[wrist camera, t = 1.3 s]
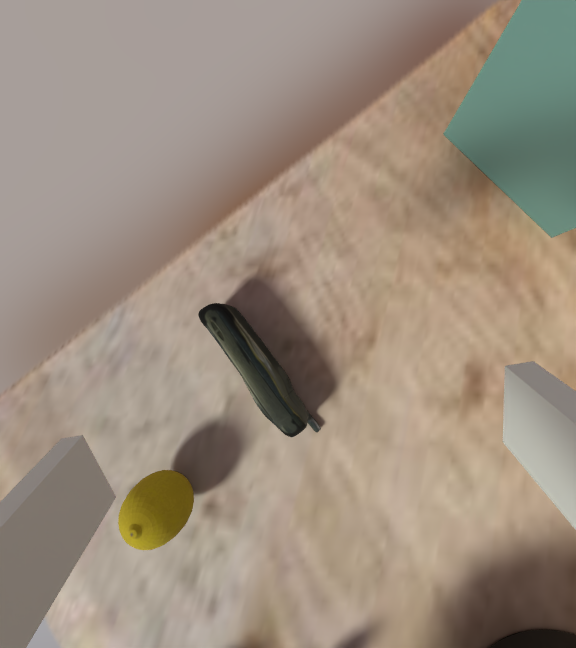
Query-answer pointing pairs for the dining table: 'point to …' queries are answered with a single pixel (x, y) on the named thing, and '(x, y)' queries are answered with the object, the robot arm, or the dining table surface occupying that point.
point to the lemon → (156, 510)
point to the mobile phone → (257, 369)
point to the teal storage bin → (527, 114)
